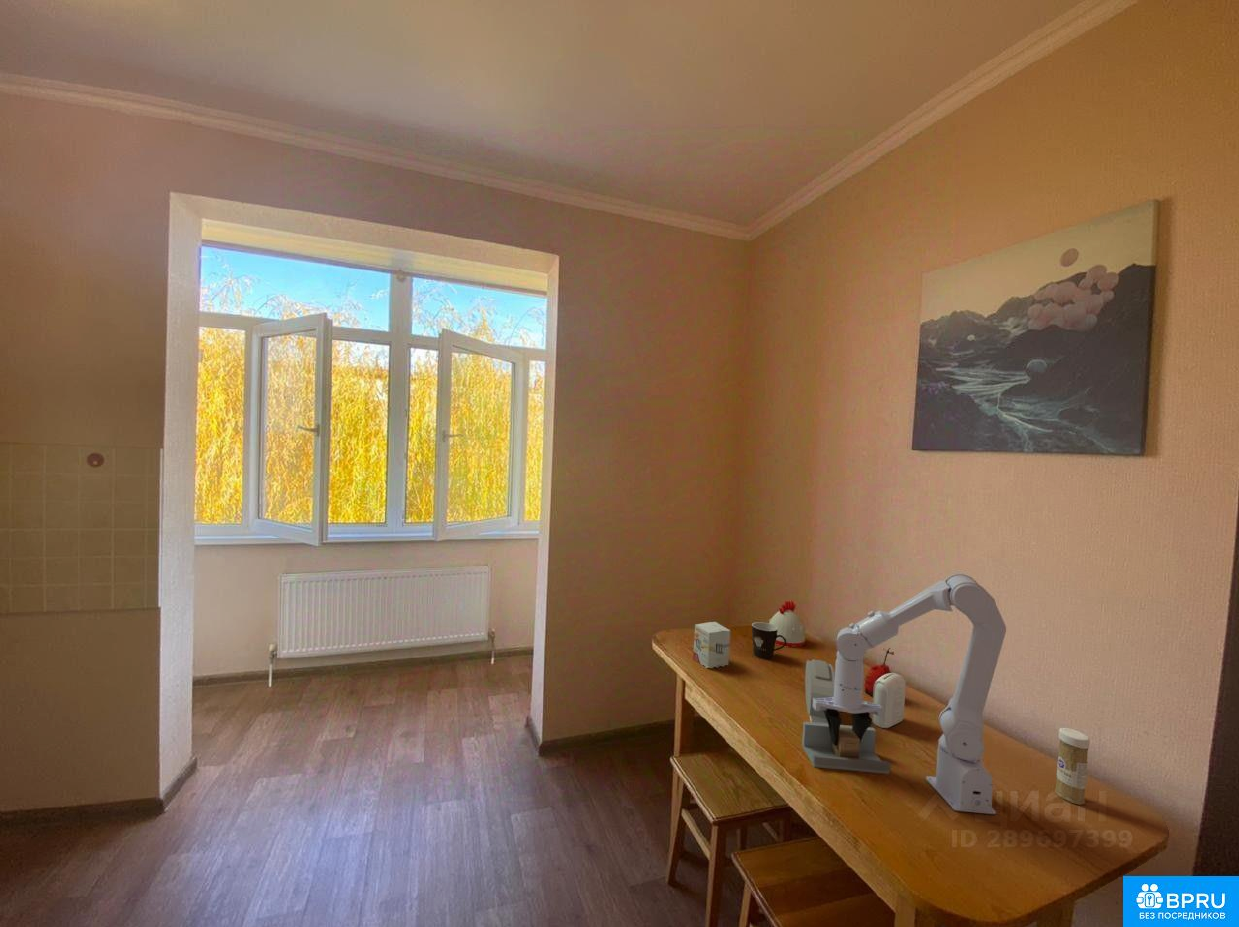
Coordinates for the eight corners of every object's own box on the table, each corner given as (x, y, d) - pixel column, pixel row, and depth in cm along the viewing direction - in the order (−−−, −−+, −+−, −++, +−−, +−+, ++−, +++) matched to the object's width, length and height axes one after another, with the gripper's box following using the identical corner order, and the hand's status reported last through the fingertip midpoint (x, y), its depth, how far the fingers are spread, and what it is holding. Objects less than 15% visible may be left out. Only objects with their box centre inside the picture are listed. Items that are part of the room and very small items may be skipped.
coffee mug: (745, 651, 165) (747, 622, 165) (766, 649, 168) (768, 621, 168) (765, 665, 154) (766, 634, 154) (787, 663, 157) (788, 633, 157)
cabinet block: (859, 762, 103) (860, 740, 103) (840, 761, 103) (841, 738, 103) (849, 749, 107) (850, 727, 107) (831, 748, 108) (832, 726, 108)
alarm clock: (836, 738, 114) (839, 685, 114) (809, 732, 116) (812, 680, 116) (827, 695, 136) (829, 651, 136) (804, 690, 138) (806, 647, 138)
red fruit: (879, 688, 142) (882, 639, 142) (898, 700, 135) (902, 648, 135) (858, 690, 140) (861, 640, 140) (877, 702, 133) (880, 649, 133)
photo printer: (889, 713, 128) (892, 667, 128) (906, 720, 124) (908, 674, 124) (868, 722, 122) (871, 675, 122) (885, 731, 118) (888, 682, 118)
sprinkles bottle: (1049, 790, 99) (1052, 726, 99) (1068, 790, 99) (1072, 726, 99) (1072, 806, 94) (1076, 739, 94) (1092, 805, 95) (1096, 739, 95)
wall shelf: (889, 773, 101) (891, 747, 101) (814, 766, 102) (815, 741, 102) (872, 751, 109) (873, 727, 109) (802, 745, 110) (803, 721, 110)
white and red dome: (812, 644, 176) (815, 604, 176) (787, 650, 169) (790, 608, 169) (782, 631, 188) (785, 594, 188) (758, 636, 181) (760, 597, 181)
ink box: (692, 658, 156) (694, 623, 156) (713, 655, 160) (715, 620, 160) (707, 669, 148) (709, 632, 148) (729, 666, 152) (731, 629, 152)
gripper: (872, 677, 109) (869, 736, 109) (809, 672, 110) (805, 730, 110) (888, 692, 102) (884, 754, 102) (820, 687, 103) (817, 748, 103)
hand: (844, 743), depth 106 cm, fingers closed on cabinet block, 4 cm apart
